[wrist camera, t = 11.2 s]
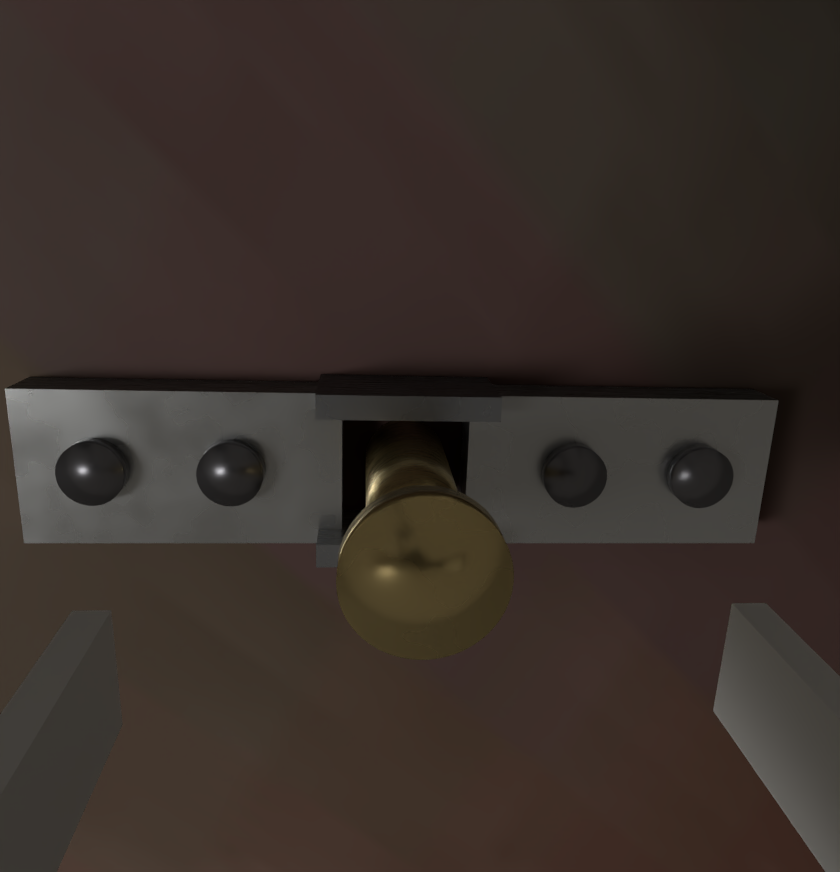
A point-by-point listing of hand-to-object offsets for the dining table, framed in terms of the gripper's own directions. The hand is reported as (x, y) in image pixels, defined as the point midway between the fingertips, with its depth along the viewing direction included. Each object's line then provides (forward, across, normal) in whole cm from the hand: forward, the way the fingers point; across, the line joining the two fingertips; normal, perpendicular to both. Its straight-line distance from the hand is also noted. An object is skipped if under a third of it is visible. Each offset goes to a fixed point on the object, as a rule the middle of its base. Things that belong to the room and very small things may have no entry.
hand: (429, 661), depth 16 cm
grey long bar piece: (+15, 0, -1) cm, 15 cm away
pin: (+15, 0, -1) cm, 15 cm away
